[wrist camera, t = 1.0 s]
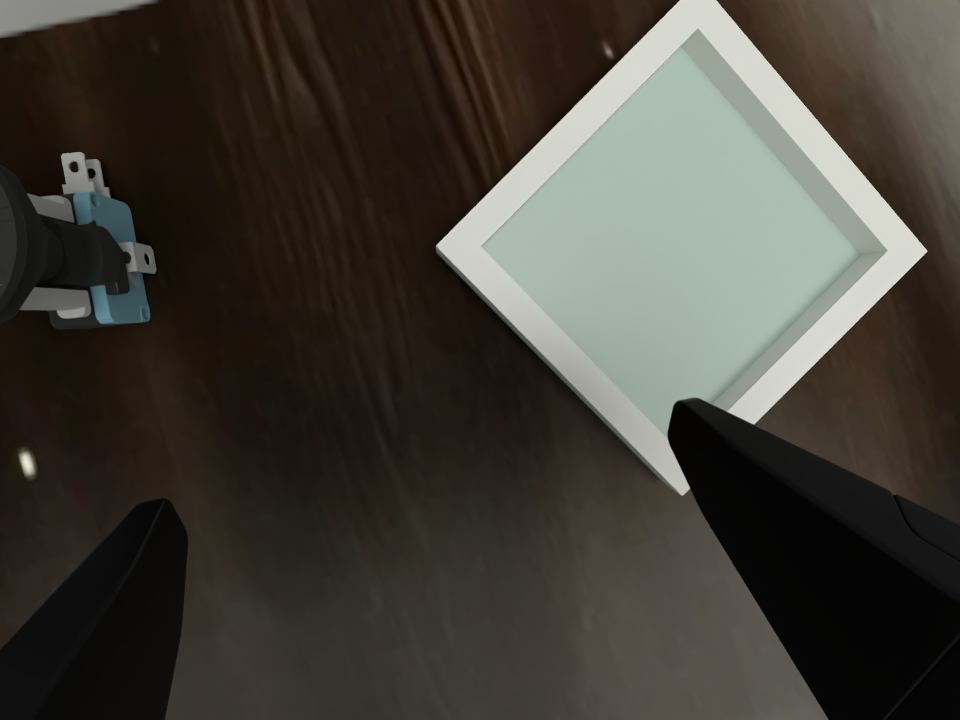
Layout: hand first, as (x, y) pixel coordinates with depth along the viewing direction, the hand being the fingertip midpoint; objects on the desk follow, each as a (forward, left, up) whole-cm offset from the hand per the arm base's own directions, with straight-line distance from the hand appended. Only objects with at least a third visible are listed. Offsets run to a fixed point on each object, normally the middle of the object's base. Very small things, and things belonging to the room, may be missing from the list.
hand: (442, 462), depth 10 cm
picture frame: (+11, -3, -13) cm, 17 cm away
